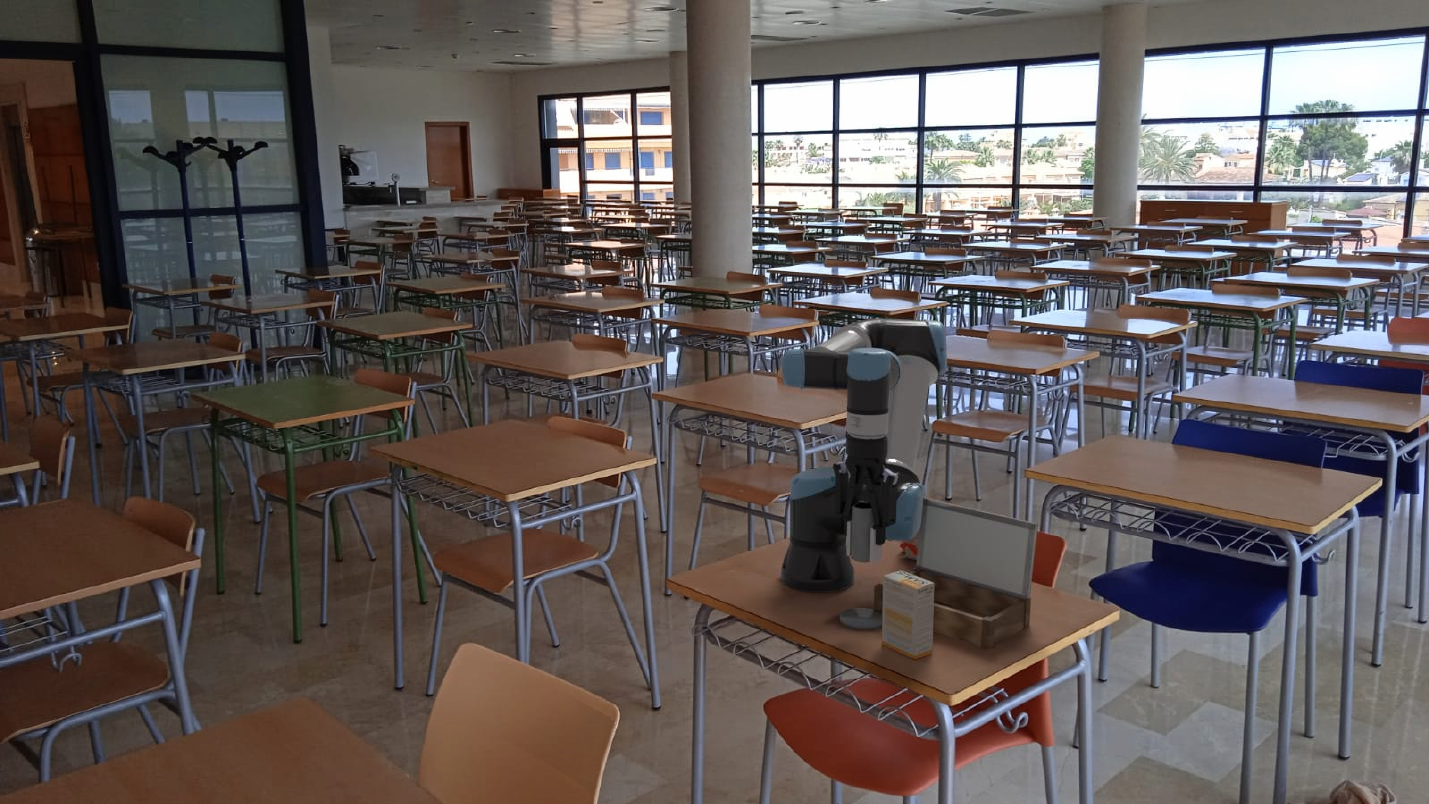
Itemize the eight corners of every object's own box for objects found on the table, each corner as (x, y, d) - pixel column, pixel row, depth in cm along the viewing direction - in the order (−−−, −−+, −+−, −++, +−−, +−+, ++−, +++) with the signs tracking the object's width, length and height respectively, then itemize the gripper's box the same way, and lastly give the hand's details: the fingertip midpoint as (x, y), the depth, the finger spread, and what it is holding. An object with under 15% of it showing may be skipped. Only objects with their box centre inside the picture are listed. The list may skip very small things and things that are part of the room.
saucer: (830, 621, 197) (830, 617, 196) (857, 608, 203) (857, 604, 202) (867, 633, 191) (867, 629, 191) (894, 620, 197) (894, 616, 197)
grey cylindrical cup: (846, 558, 194) (847, 505, 192) (860, 552, 197) (861, 500, 195) (867, 564, 191) (868, 510, 189) (880, 558, 194) (882, 504, 192)
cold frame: (873, 612, 201) (874, 585, 199) (916, 591, 211) (917, 566, 210) (989, 650, 184) (990, 621, 183) (1029, 625, 194) (1030, 598, 193)
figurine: (943, 558, 230) (941, 508, 226) (921, 569, 226) (919, 519, 222) (912, 545, 237) (910, 497, 233) (891, 555, 233) (888, 506, 230)
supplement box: (933, 653, 183) (936, 582, 180) (914, 660, 180) (916, 588, 177) (899, 637, 189) (901, 568, 187) (880, 644, 186) (882, 574, 184)
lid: (922, 498, 207) (925, 497, 208) (914, 569, 209) (918, 568, 210) (1034, 524, 191) (1038, 523, 192) (1026, 601, 192) (1029, 599, 193)
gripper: (815, 430, 193) (813, 551, 198) (895, 445, 181) (891, 574, 185) (840, 423, 198) (838, 541, 203) (919, 438, 186) (915, 563, 191)
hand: (863, 556), depth 194 cm, fingers closed on grey cylindrical cup, 4 cm apart
